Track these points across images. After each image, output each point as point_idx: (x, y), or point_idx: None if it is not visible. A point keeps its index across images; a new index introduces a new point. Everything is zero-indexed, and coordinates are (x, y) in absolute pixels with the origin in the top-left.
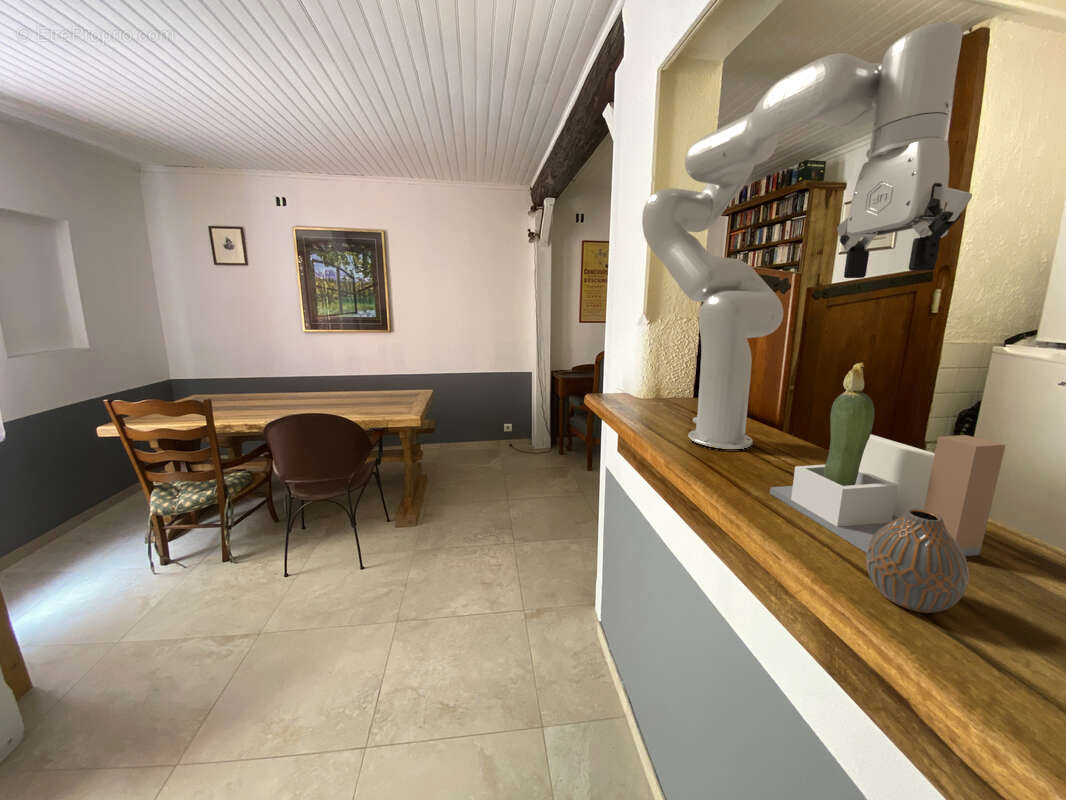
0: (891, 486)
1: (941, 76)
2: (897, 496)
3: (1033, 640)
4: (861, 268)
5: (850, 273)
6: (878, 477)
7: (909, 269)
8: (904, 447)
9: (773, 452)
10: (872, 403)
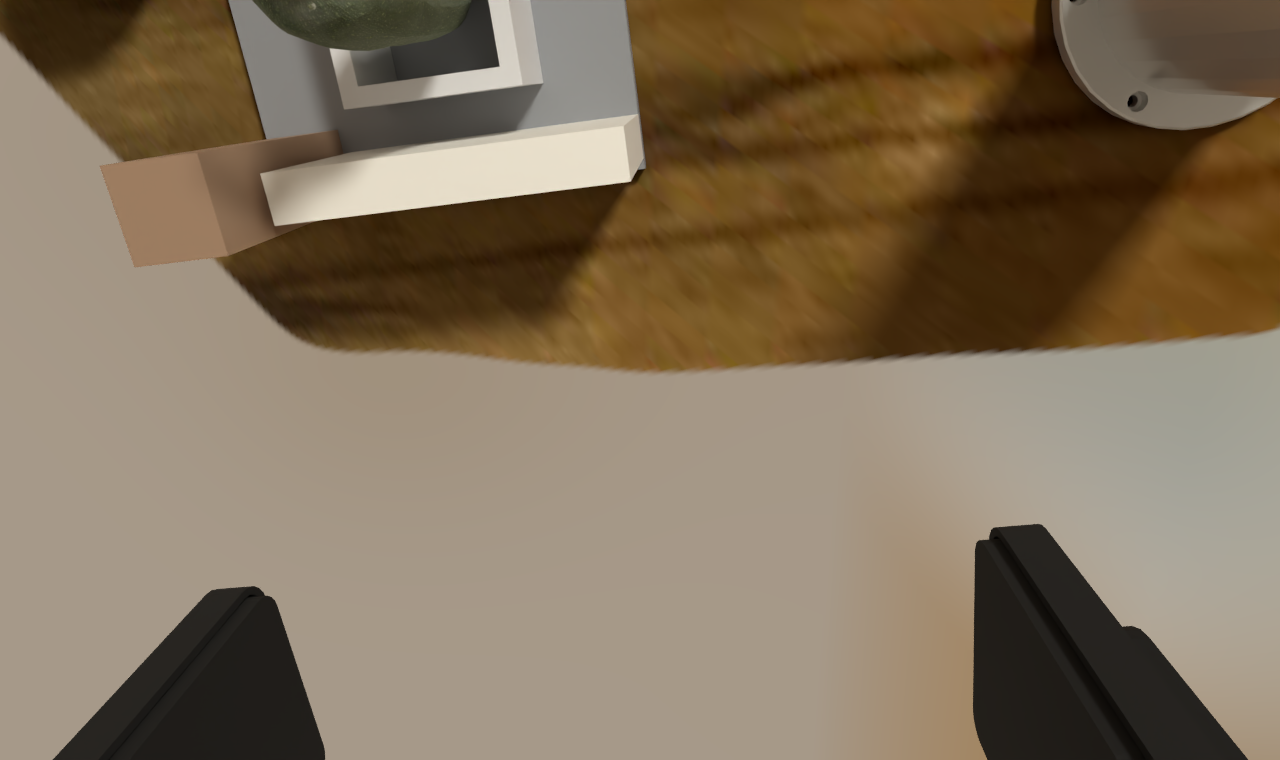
0: (339, 85)
1: None
2: (404, 147)
3: (27, 30)
4: (1005, 740)
5: (990, 575)
6: (401, 100)
7: (271, 599)
8: (375, 178)
9: (1006, 156)
10: (264, 13)
